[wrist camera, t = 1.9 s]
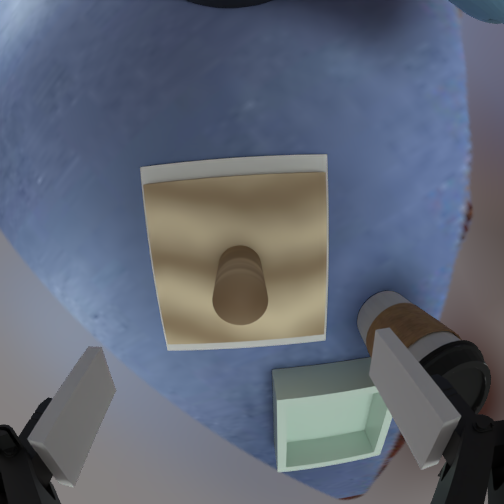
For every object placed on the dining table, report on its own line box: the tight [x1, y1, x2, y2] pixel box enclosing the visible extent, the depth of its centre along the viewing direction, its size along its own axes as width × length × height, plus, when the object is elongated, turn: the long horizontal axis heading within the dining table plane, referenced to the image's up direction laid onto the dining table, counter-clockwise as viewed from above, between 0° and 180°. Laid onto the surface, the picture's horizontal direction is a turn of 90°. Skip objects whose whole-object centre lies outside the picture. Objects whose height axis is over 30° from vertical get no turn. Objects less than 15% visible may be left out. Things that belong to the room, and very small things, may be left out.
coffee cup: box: [357, 291, 491, 415], centre depth 24 cm, size 8×8×15 cm
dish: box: [272, 357, 392, 472], centre depth 32 cm, size 13×13×5 cm
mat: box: [140, 154, 329, 351], centre depth 29 cm, size 18×16×1 cm
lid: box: [143, 172, 327, 344], centre depth 24 cm, size 15×15×8 cm
